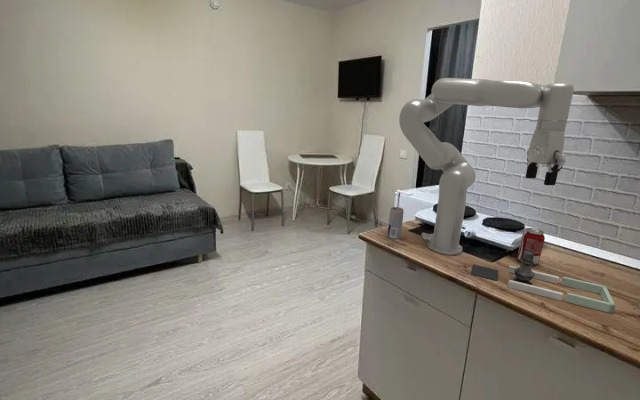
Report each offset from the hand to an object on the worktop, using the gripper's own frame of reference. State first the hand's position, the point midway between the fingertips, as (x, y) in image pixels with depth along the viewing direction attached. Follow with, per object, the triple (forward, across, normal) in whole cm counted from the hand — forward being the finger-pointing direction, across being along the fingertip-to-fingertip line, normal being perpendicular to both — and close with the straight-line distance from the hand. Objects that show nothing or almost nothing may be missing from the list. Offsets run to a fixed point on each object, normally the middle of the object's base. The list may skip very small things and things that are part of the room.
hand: (539, 181), depth 110 cm
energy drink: (+30, -25, -39) cm, 55 cm away
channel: (+31, +10, -2) cm, 33 cm away
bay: (+32, +16, +10) cm, 37 cm away
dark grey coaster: (+31, +3, -14) cm, 34 cm away
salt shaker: (+31, +8, -4) cm, 33 cm away
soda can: (+31, -7, +6) cm, 33 cm away
